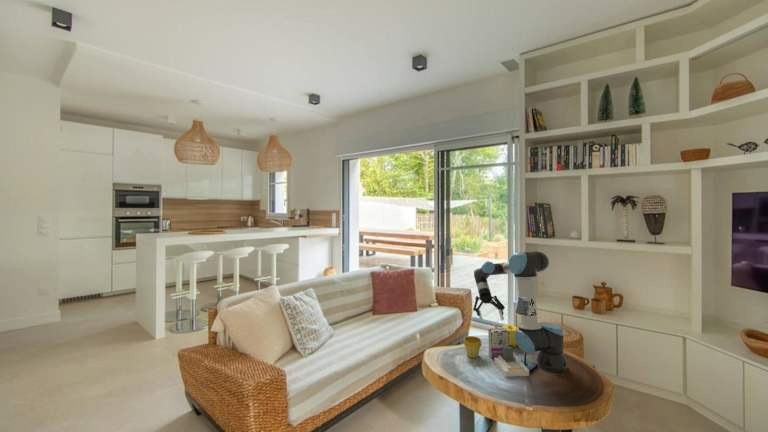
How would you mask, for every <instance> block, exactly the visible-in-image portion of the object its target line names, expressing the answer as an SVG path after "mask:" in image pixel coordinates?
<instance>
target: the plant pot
mask: <svg viewBox="0 0 768 432" xmlns="http://www.w3.org/2000/svg"><path fill="white" fill-rule="evenodd" d="M463 345H464V347H465V352H466V355H467V356H468V357H470V358H474V359H475V358H478V357H479V355H480V350H481V347H482V339H481V338H480V337H478V336H473V335H469V336H465V337H464V338H463Z"/></svg>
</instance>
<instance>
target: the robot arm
mask: <svg viewBox="0 0 768 432" xmlns="http://www.w3.org/2000/svg"><path fill="white" fill-rule="evenodd" d="M549 264H550V260H549V257H548V256H547V254H546V253H544V252H542V251H535V250H534V251H523V252H522V251H521V252H515V253H513V254H511V256H510V257H509V260H508V261H505V262H501V263H500V262H499V263H493V262H492V261H485V262H483V264H481V267H480V268H476V269H475V270H474V271H473V276H474V277H473V278H474V280H475V281H474V282H475V284H476V288H477V291H478V295H476V296H475V302H474V305H473V308H472V310H473V312H474V311H475V313H476V315H477V317H479V321H480V322H482V321H483V315H482V311H481V310H480V309H481V307H482V305H483V304H484V305H485V304H490V305H493V307H495V308H496V309H497V310H498V313H499V314H498V315H499V317H500V320H501V322H503V321H504V318H505V317H504V310H505V308H506V307H505V306H504V305H503V303H502V302H501V301H500V300H499V299H498V297H497V295H494V296H492V293H491V289H490V287H489V283H488V278H489V277H490V276H497V275H508V274H513V277H514V278H515V279H516V281H517V290H518V298H519V297H525V299H522V300H524V301H530V303H531V298H533V299H532V300H533V301H534V304H533V306H532V303H531V305H530V306H529V308H530V309H529V311H527V313H528V315H531V314H534V313H532V312H535V310H536V316H528V315H527V316H524V315H520V323H519V324H518V331H516V333H515V341H516V343H517V345H516V346H517V347H518V348H519V349H520V350H521V351H522V352H524V353H528V354H529V353H535V352H538V354H537V357H536V364H537V366H538V367H539V368H540V369H543V370H545V371H548V372H552V373H563V372H566V371H567V368H568V365H567V363H568V362H567V361H566V358H565V355H564V336H565V335H564V329H563V328H562V327H561V326H559V325H556V324H554V323H550V322H540V323H539V319H538V311H537V308H538V307H537V300H536V299H537V296H536V288H535V279H536V278H537V277H538V276H537V273H540V272H543V271H545V270H547V268H548V267H549ZM526 297H527V298H526ZM479 301H481V302H480V303H479V304H478V302H479ZM533 301H532V302H533ZM525 306H526V305H525ZM534 309H535V310H534ZM534 315H535V314H534Z"/></svg>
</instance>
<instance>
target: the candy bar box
mask: <svg viewBox="0 0 768 432" xmlns="http://www.w3.org/2000/svg"><path fill="white" fill-rule="evenodd" d="M487 331H488V336H487V337H488V356H489V357H490V358H491V359H492V360H495V358H498V356H499V355H500V356H501V357H503V347H510V345H509V330H507V329H506V328H502V327H499V328H497V329H495V328H488V329H487Z"/></svg>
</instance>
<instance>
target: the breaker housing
mask: <svg viewBox="0 0 768 432" xmlns="http://www.w3.org/2000/svg"><path fill="white" fill-rule="evenodd" d="M513 358H514V359H515V361H509V362H505V360H504V359H503V358H502V357H501V356H500V355H499V356H498V358H495V359H494V364H495V365H496V367H497V368H498V369H499V371H500V372H501V374H502V375H503V377H505V378H506V377H508V378H510V377H527V376H528V377H529V376H530V370H529V368H528V367H527V366H526V365H525V364H524V363H523V362H522V361H521V360H520V359H519V358H518V357H517V356H515V355H514V354H513Z"/></svg>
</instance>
